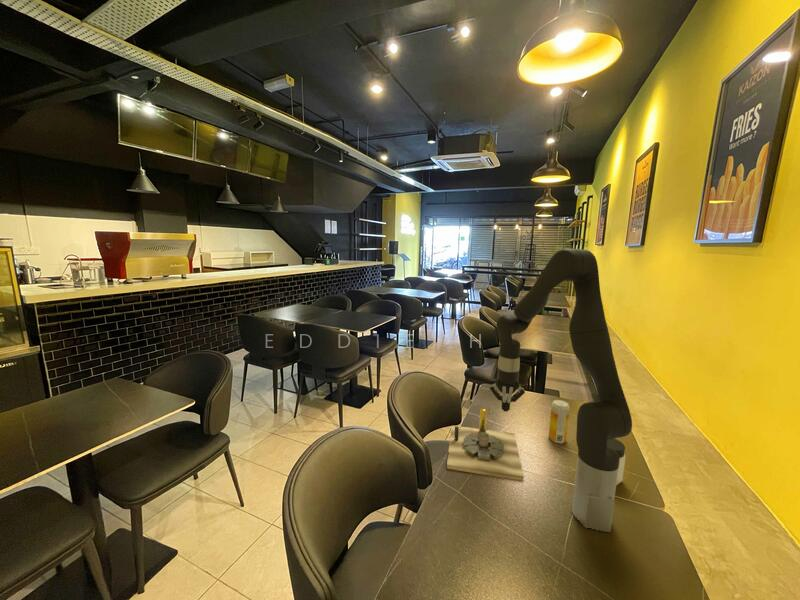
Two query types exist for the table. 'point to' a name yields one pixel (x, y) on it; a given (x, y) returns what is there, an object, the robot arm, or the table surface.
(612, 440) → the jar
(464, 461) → the base
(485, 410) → the flange
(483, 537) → the table surface
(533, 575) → the table surface
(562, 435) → the orange white canister
